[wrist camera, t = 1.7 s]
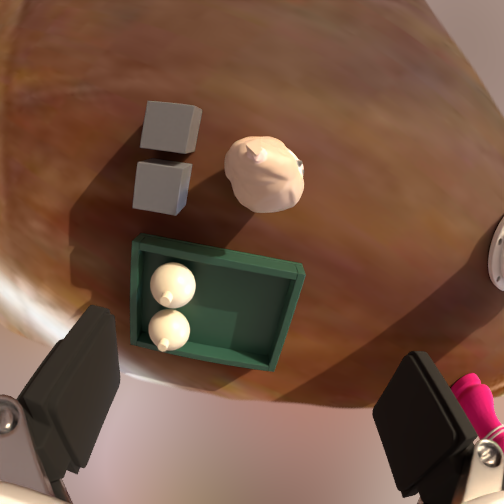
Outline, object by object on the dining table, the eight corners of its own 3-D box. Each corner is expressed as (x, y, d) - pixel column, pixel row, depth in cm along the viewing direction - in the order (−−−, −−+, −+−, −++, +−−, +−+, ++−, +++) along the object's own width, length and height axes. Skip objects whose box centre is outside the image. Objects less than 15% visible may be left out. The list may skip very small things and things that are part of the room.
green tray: (302, 263, 31) (306, 274, 29) (272, 357, 35) (274, 372, 33) (140, 232, 30) (131, 240, 27) (137, 331, 34) (130, 344, 32)
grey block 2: (192, 164, 27) (183, 168, 24) (185, 205, 29) (176, 215, 25) (152, 158, 27) (137, 162, 23) (146, 198, 29) (132, 208, 25)
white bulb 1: (201, 259, 30) (192, 284, 25) (196, 297, 32) (187, 326, 27) (159, 251, 30) (142, 274, 25) (156, 289, 31) (140, 316, 27)
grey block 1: (202, 109, 26) (194, 105, 22) (194, 151, 27) (185, 154, 23) (161, 104, 25) (147, 100, 22) (154, 145, 27) (139, 147, 23)
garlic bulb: (302, 140, 27) (321, 142, 19) (294, 207, 29) (308, 233, 21) (229, 133, 26) (220, 131, 19) (224, 201, 29) (214, 225, 21)
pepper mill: (443, 386, 39) (493, 478, 20) (478, 363, 38) (535, 447, 19) (446, 406, 41) (488, 489, 23) (478, 385, 40) (526, 462, 21)
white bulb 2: (195, 305, 32) (185, 335, 27) (191, 337, 34) (182, 368, 29) (155, 297, 32) (140, 325, 27) (153, 329, 33) (140, 358, 28)
